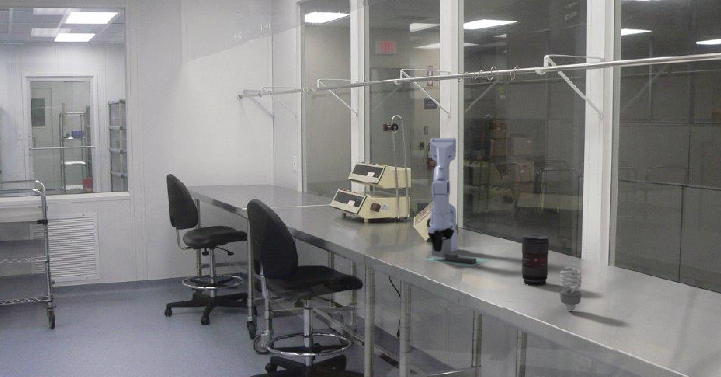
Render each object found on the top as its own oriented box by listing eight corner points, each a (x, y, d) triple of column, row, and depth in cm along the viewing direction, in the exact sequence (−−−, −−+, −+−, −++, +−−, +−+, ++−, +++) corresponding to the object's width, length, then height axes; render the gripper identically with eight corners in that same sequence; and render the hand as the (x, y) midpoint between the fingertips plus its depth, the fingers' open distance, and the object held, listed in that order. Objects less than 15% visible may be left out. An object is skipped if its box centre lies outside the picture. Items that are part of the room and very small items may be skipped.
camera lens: (548, 287, 229) (549, 238, 228) (521, 286, 231) (522, 238, 230) (547, 281, 237) (548, 234, 236) (521, 280, 239) (521, 233, 238)
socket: (450, 254, 274) (450, 237, 274) (443, 256, 270) (443, 238, 270) (439, 253, 277) (439, 235, 277) (431, 255, 273) (431, 237, 273)
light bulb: (556, 308, 204) (556, 265, 203) (576, 308, 204) (577, 264, 203) (563, 314, 198) (564, 269, 197) (584, 313, 199) (585, 268, 197)
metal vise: (478, 262, 267) (478, 251, 267) (469, 265, 263) (469, 253, 262) (439, 257, 278) (439, 246, 278) (429, 259, 274) (429, 248, 273)
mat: (446, 254, 285) (446, 253, 285) (492, 260, 272) (492, 259, 272) (422, 260, 274) (422, 259, 274) (469, 267, 261) (469, 266, 261)
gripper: (442, 210, 280) (442, 246, 282) (420, 214, 269) (420, 252, 271) (458, 211, 276) (458, 248, 277) (437, 216, 265) (437, 254, 266)
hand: (441, 250), depth 274 cm, fingers closed on socket, 5 cm apart
